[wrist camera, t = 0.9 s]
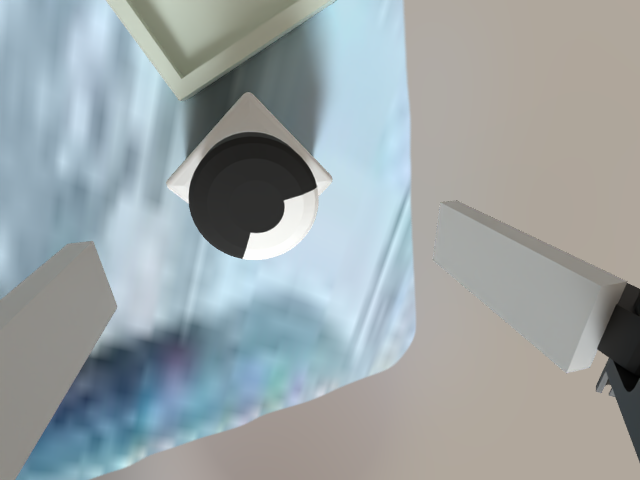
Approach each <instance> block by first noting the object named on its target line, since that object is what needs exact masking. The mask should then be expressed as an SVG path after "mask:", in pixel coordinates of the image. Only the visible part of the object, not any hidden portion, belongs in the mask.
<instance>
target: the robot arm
mask: <svg viewBox="0 0 640 480" xmlns="http://www.w3.org/2000/svg"><path fill="white" fill-rule="evenodd" d="M433 261H434V262H436V263H437V264H438V265H439V266H440V267H441V268H443V269H444V270H445V271H446V272H447V273H448V274H450V275H451V276H452V277H453V278H455V279H456V280H457V281H458V282H459V283H460V284H461V285H463V286H464V287H465V288H466V289H468V290H469V291H470V292H471V293H472V294H473V295H475V296H476V297H477V298H478V299H479V300H480V301H482V302H483V303H484V304H485V305H486V306H488V307H489V308H490V309H491V310H492V311H493V312H495V313H496V314H497V315H498V316H499V317H500V318H502V319H503V320H504V321H505V322H506V323H508V324H509V325H510V326H511V327H512V328H514V329H515V330H516V331H517V332H518V333H519V334H521V335H522V336H523V337H524V338H525V339H527V340H528V341H529V342H530V343H531V344H533V345H534V346H535V347H536V348H537V349H538V350H540V351H541V352H542V353H543V354H544V355H545V356H547V357H548V358H549V359H550V360H551V361H553V362H554V363H555V364H556V365H558V366H559V367H560V368H561V369H562V370H563V371H564V372H566V373H569V372H574V371H578V370H582V369H586V368H590V366H591V363H592V361H593V359H594V357H595V354H596V352H597V350H599V351H601V352H602V353H604V354H605V355H606V356H608V357H609V359H608V361H607V364H606V366H605V368H604V370H603V372H602V374H601V377H600V379H599V381H598V383H597V385H596V392H600V393H602V390H603V388H604V386H605V385H608V384H609V385H611V386H612V389H611V391H610V393H609V395H610V396H613V397H616V400H617V402H618V405H619V408H620V411H621V413H622V416H623V419H624V421H625V424H626V427H627V429H628V432H629V435H630V437H631V440H632V442H633V446H634V448H635V451H636V454H637V456H638V459H639V461H640V289H639V288H637V287H635V286H632V285H630V284H628V283H627V281H625V280H623V279H621V278H619V277H617V276H615V275H613V274H611V273H609V272H606V271H604V270H602V269H600V268H598V267H596V266H594V265H592V264H590V263H587V262H585V261H583V260H581V259H579V258H577V257H575V256H573V255H571V254H569V253H566V252H564V251H562V250H560V249H558V248H556V247H554V246H552V245H550V244H547V243H545V242H543V241H541V240H539V239H537V238H535V237H532V236H531V235H528V234H526V233H524V232H522V231H520V230H518V229H516V228H514V227H512V226H509V225H507V224H505V223H503V222H501V221H499V220H497V219H495V218H493V217H491V216H488V215H486V214H484V213H482V212H480V211H478V210H476V209H474V208H471V207H469V206H467V205H465V204H463V203H461V202H459V201H457V200H456V201H447V202H440V208H439V216H438V225H437V232H436V239H435V246H434V254H433ZM116 309H117V304H116V302H115V299H114V296H113V294H112V291H111V288H110V285H109V283H108V280H107V277H106V275H105V272H104V269H103V267H102V264H101V261H100V259H99V256H98V253H97V250H96V248H95V245H94V242H93V241H89V242H80V243H71V244H67V245H66V246H65V247H63V248H62V249H61V250H60V251H59V252H57V253H56V254H55V255H54V256H53V257H51V258H50V259H49V260H48V261H47V262H45V263H44V264H43V265H42V266H41V267H39V268H38V269H37V270H36V271H35V272H33V273H32V274H31V275H30V276H29V277H27V278H26V279H25V280H24V281H23V282H21V283H20V284H19V285H18V286H17V287H15V288H14V289H13V290H12V291H11V292H9V293H8V294H7V295H6V296H5V297H4V298H2V299H1V300H0V480H15V479H16V477H17V475H18V474H19V472H20V470H21V469H22V467H23V465H24V464H25V462H26V460H27V459H28V457H29V455H30V454H31V452H32V450H33V448H34V447H35V445H36V443H37V442H38V440H39V438H40V437H41V435H42V433H43V432H44V430H45V428H46V427H47V425H48V423H49V422H50V420H51V418H52V417H53V415H54V413H55V412H56V410H57V408H58V406H59V405H60V403H61V401H62V400H63V398H64V396H65V395H66V393H67V391H68V390H69V388H70V386H71V385H72V383H73V381H74V380H75V378H76V376H77V375H78V373H79V371H80V369H81V368H82V366H83V364H84V363H85V361H86V359H87V358H88V356H89V354H90V353H91V351H92V349H93V348H94V346H95V344H96V343H97V341H98V339H99V338H100V336H101V334H102V332H103V331H104V329H105V327H106V326H107V324H108V322H109V321H110V319H111V317H112V316H113V314H114V312H115V311H116Z"/></svg>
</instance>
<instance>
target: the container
mask: <svg viewBox="0 0 640 480" xmlns="http://www.w3.org/2000/svg"><path fill="white" fill-rule="evenodd" d="M166 183H167V187H168V188H169V189H170V190H171V191H173V192H174V193H175V194H177V195H178V196H179V197H180V198H182V199H183V200H184V201H186V202H187V203H188V204H189V208H190V212H191V216H192V218H193V221H194V223H195V225H196V227H197V228H198V230H199V232H200V233H201V234H202V235H203V237H204V238H205V239H206V240H207V241H208V242H209V243H210V244H211V245H213V246H214V247H216V248H217V249H218V250H220V251H222V252H224V253H226V254H228V255H231V256H233V257H237V258H241V259H248V260H261V259H268V258H272V257H276V256H278V255H281V254H283V253H285V252H287V251H289V250H290V249H292V248H293V247H295V246H296V245H297V244H298V243H299V242H300V241H302V240H303V238H304V237H305V236H306V235H307V233H308V232H309V230H310V229H311V227H312V225H313V223H314V220H315V218H316V214H317V210H318V196H319V195H320V194H321V193H322V192H323V191H324V190H325V189H326V188H327V187H328V186H329V185H330V184H331V183H332V176H331V175H330V174H329V173H328V172H327V171H326V170H325V169H324V168H323V167H322V166H321V165H320V163H319V162H318V161H317V160H316V159H315V158H314V157H313V156H312V155H311V154H310V153H309V152H308V151H307V150H306V149H305V148H304V147H303V146H302V145H301V144H300V143H299V142H298V140H297V139H296V138H295V137H294V136H293V135H292V134H291V133H290V132H289V131H288V130H287V129H286V128H285V127H284V126H283V125H282V124H281V123H280V122H279V121H278V120H277V119H276V118H275V116H274V115H273V114H272V113H271V112H270V111H269V110H268V109H267V108H266V107H265V106H264V105H263V104H262V103H261V102H260V101H259V100H258V99H257V98H256V97H255V96H254V95H253V94H252V93H250V92H246V93H244V94H243V95H242V96H241V97H240V99H239V100H238V101H237V102H236V103H235V104H234V105H233V106H232V108H231V109H230V110H229V111H228V112H227V113H226V114H225V115H224V117H223V118H222V119H221V120H220V121H219V122H218V123H217V125H216V126H215V127H214V128H213V129H212V130H211V131H210V132H209V134H208V135H207V136H206V137H205V138H204V139H203V140H202V141H201V143H200V144H199V145H198V146H197V147H196V148H195V149H194V150H193V152H192V153H191V154H190V155H189V156H188V157H187V158H186V159H185V161H184V162H183V163H182V164H181V165H180V166H179V167H178V169H177V170H176V171H175V172H174V173H173V174H172V175H171V176H170V178H169V179H168V180H167V182H166Z"/></svg>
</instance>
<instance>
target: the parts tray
mask: <svg viewBox="0 0 640 480" xmlns="http://www.w3.org/2000/svg"><path fill="white" fill-rule="evenodd" d="M106 1H107V3H108V4H109V5H110V7H111V8H112V9H113V11H114V12H115V14H116V15H117V16H118V18H119V19H120V20H121V22H122V23H123V24H124V26H125V27H126V29H127V30H128V31H129V33H130V34H131V35H132V37H133V38H134V39H135V41H136V42H137V44H138V45H139V46H140V48H141V49H142V50H143V52H144V53H145V54H146V56H147V57H148V59H149V60H150V61H151V63H152V64H153V65H154V67H155V68H156V70H157V71H158V72H159V74H160V75H161V76H162V78H163V79H164V80H165V82H166V83H167V85H168V86H169V87H170V89H171V90H172V91H173V93H174V94H175V95H176V97H177V98H178V100H179V101H186V100H188V99H189V98H191V97H192V96H194V95H195V94H197V93H198V92H200V91H201V90H203V89H204V88H206V87H207V86H209V85H210V84H212V83H213V82H215V81H216V80H218V79H219V78H221V77H222V76H224V75H225V74H227V73H228V72H230V71H231V70H233V69H234V68H236V67H237V66H239V65H240V64H242V63H243V62H245V61H246V60H248V59H249V58H251V57H252V56H254V55H256V54H257V53H259V52H260V51H262V50H263V49H265V48H266V47H268V46H269V45H271V44H272V43H274V42H275V41H277V40H278V39H280V38H281V37H283V36H284V35H286V34H287V33H289V32H290V31H292V30H293V29H295V28H296V27H298V26H299V25H301V24H302V23H304V22H305V21H307V20H308V19H310V18H311V17H313V16H314V15H316V14H317V13H319V12H320V11H322V10H323V9H325V8H326V7H328V6H329V5H331V4H332V3H334V2H335V1H337V0H106Z"/></svg>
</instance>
